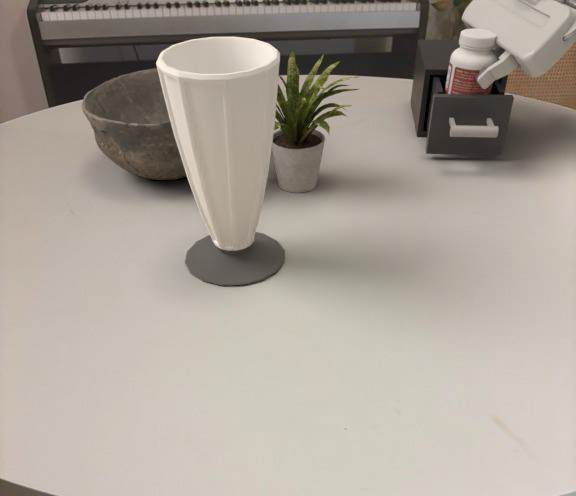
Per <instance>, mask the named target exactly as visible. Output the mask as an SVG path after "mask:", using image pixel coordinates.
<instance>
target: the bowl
mask: <svg viewBox="0 0 576 496" xmlns="http://www.w3.org/2000/svg"><path fill="white" fill-rule="evenodd" d="M81 110H82V112H83V114H84V116H85V117H86V119H87V121H88V122H89V124H90V126H91V128H92V130H93V134H94V140H95V142H96V143H95V144H96V145H97V147H98V149H99V150H100V151H101V152H102V154H104V155H105V157H107V159H109V160H110V162H112V163H114V164H115V165H116V166H118V167H120V168H121V169H123V170H124V171H127V172H129V173H130V174H132V175H134V176H135V175H136V176H138V177H141V178H145V179H149V180H156V181H164V180H165V181H166V180H167V181H169V180H177V179H178V180H179V179H182V178H183V179H184V178H187V175H186V172H185V169H184V165H183V162H182V159H181V156H180V152H179V149H178V146H177V143H176V140H175V136H174V133H173V129H172V125H171V121H170V118H169V114H168V110H167V106H166V102H165V98H164V95H163V90H162V86H161V82H160V78H159V74H158V69H157V67H154V68H148V69H142V70H137V71H134V72H129V73H126V74H121V75H118V76H117V77H113V78H111V79H108V80H106V81H104V82H102V83H101V84H99V85H97V86H96V87H94V88H92V89H91V90H89V91H87V93H85V95H84V96H83V100H82V102H81Z"/></svg>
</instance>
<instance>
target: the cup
mask: <svg viewBox="0 0 576 496" xmlns="http://www.w3.org/2000/svg"><path fill="white" fill-rule="evenodd" d="M280 63H281V53H280V51H279V50H278V49H277V48H275V46H274V45H271V43H269V42H266V41H262V40H258V39H256V38H249V37H242V36H208V37H201V38H194V39H188V40H184V41H182V42H178V43H175V44H171V46H168V47H166V48H165V49H163V50H162V51H161V52H160V53H159V55H158V57H157V60H156V62H155V65H156V68H157V69H158V74H159V78H160V82H161V86H162V90H163V95H164V98H165V102H166V106H167V110H168V114H169V118H170V121H171V125H172V129H173V133H174V136H175V140H176V143H177V146H178V149H179V152H180V156H181V159H182V162H183V165H184V169H185V172H186V175H187V176H186V178H187V181H188V184H189V186H190V189H191V192H192V195H193V197H194V198H193V199H194V201H195V203H196V206H197V209H198V212H199V214H200V216H201V219H202V221H203V223H204V225H205V227H206V229H207V232H208V234H209V235H207V236H204V237H203V238H200V239H198V240H197V241H196V242H194V244H192V246H191V247H190V248H189V249H188V250H187V251H186V254H185V260H184V264H185V265H186V267H187V270H188V271H189V273H190V274H191V275H192V276H194V277H196V278H197V279H199V280H201V281H202V282H204V283H208V284H212V285H216V286H220V287H235V286H234V285H240V287H242V286H248V285H251V284H255V283H258V282H262V281H264V280H266V279H267V278H270V277H271V276H273V275H274V274H277V272H278V271H279V269H281V267H282V265H283V264H284V262H285V249H284V248H283V246H282V245H281V244H280V242H279V241H278V240H277V239H275V238H273V237H271V236H270V235H267V234H265V233H263V232H258V231H257V228H258V224H259V222H260V217H261V213H262V210H263V204H264V199H265V194H266V187H267V183H268V176H269V169H270V163H271V156H272V155H271V154H272V141H273V133H274V132H275V130H274V126H275V121H276V118H275V114H276V110H277V107H276V104H277V103H278V101H277V90H278V84H279V75H280V73H279V72H280Z"/></svg>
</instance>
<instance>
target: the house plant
mask: <svg viewBox="0 0 576 496" xmlns="http://www.w3.org/2000/svg"><path fill="white" fill-rule="evenodd" d="M324 56H325V53H323V54H322V55H321V56H320V57H319V59H318V60H317V61H316V62H315V64H314V66H313V67H312V68H311V70H310V71H309V73H308V75H307V76H306V77H305V80H304V82H303V84H302V87H301V89H300V70H299V67H298V66H297V65H298V64H297V63H296V56H295V54H294V50H292V51H291V52H290V54H289V57H288V60H287V66H286V67H287V68H286V81H285V79H284V78H283V76H282V75H280V74H279V76H278V78H280V80H281V81H282V83H283V86H284V88H285V94H286V97H287V98H286V97H285V95H284V92H283V91H282V88H281V86H280V84H279V83H278V90H277V103H276V114H275V126H274V133H273V141H272V149H271V154H272V156H273V157H272V158H273V163H274V168H275V173H276V179H277V184H278V187H279V188H280V189H281V190H283V191H285V192H289V193H295V194H297V193H298V194H299V193H300V194H301V193H306V192H309V191H312V190H314V189H315V188H316V187H317V184H318V179H319V173H320V168H321V163H322V158H323V153H324V147H325V142H326V137H325V135H324V133H323V132H321V131H320V130H317V128H318V127H320V128H322V129H324V130H325V131H326V132H327V134H328V136H329V137H330V128H331V127H330V125H329V123H328V122H327V121H325V120H326V119H330V118H335V117H339V116H345V117H347V114H345V113H344V112H343V111H341V110H340V109H343V110H345V108H347V107H352V106H353V105H351V104H342V105H340V104H338V103H335V102H329V103H325V104H323V105H321V103H322V101H323V100H324V99H326V98H329V97H332V96H334V95H337V94H340V93H345V92H353V91H359V88H340V87H349V86H350V84H339V83H341V82H344V81H348V80H353V79H358V78H359V76H348V77H344V78H340V79H338V80H335V81H332V83H329V84H328V85H327V86H325V87H324V85H325V84H326V82H327V81H328V79H329V77H330V74H331V72H332V71H333V70H334V69H335V68H336V67H337V66H338V65H339V63H340V62H341V60H338V61H336V62H334V63H331V64H330V65H329V66H327V67H326V68H325V69H324V70H323V71H322V72H321V74H319V76H318V77H317V79H316V80H315V77H316V75H317V73H318V70H319V67H320V66H321V63H322V62H323V59H324ZM314 80H315V82H314ZM338 88H340V89H338ZM286 99H287V100H286ZM320 105H321V106H320ZM329 108H333V109H331V110H329V111H326V112H324V113H322V114H320V113H321V112H322V111H324V110H326V109H329ZM345 111H346V113H348V111H347V110H345ZM318 115H319V116H318ZM276 120H277V121H276ZM275 130H276V131H275Z"/></svg>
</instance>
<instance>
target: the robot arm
mask: <svg viewBox="0 0 576 496" xmlns="http://www.w3.org/2000/svg"><path fill="white" fill-rule="evenodd" d="M461 21H462V23H463V25H464V26H465V29H486V30H489V31H491V32H493V33H494V34H496V35H497V37H496V40H495V47H494V48H492V49H493V50H494V51H496V52H497V53H498V54H500V55H501V56H500V57H499V61H497V62H496V63H494V64H493V65H491V66H490V67H488V68H487V69H486V68H485V67H483V68H482V69H481V70H480V71H479V73H477V74H476V75H475V76H474V79H475V81H476V82H477V84H478V85H479V86H480V87H481V88H483V89H486V88H487V87H488V86H489V85H491V84H492V83H493V82H494V81H495V80H497V79H500V78H502V77H504V76H506V75H508V76H509V75H511V74H512V73H513V72H514V71H515V70H516V69H520V70H521V71H523V72H524V73H525V74H527V75H529V76H530V77H531V78H533V79H536V78H538V77H540V76H542V75H545V74H546V73H548V71H550V69H552V68H553V66H555V65H556V64H557V63H558V61H559V60H560V59H561V58H562V57H563V56H564V55H565V54H566V53H567V52H568V51H569V50H570V48H572V46H573V45H574V44H575V43H576V0H471V2H469V4H468V5H467V6H466V7H465V9H464V12H463V13H462V16H461Z"/></svg>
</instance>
